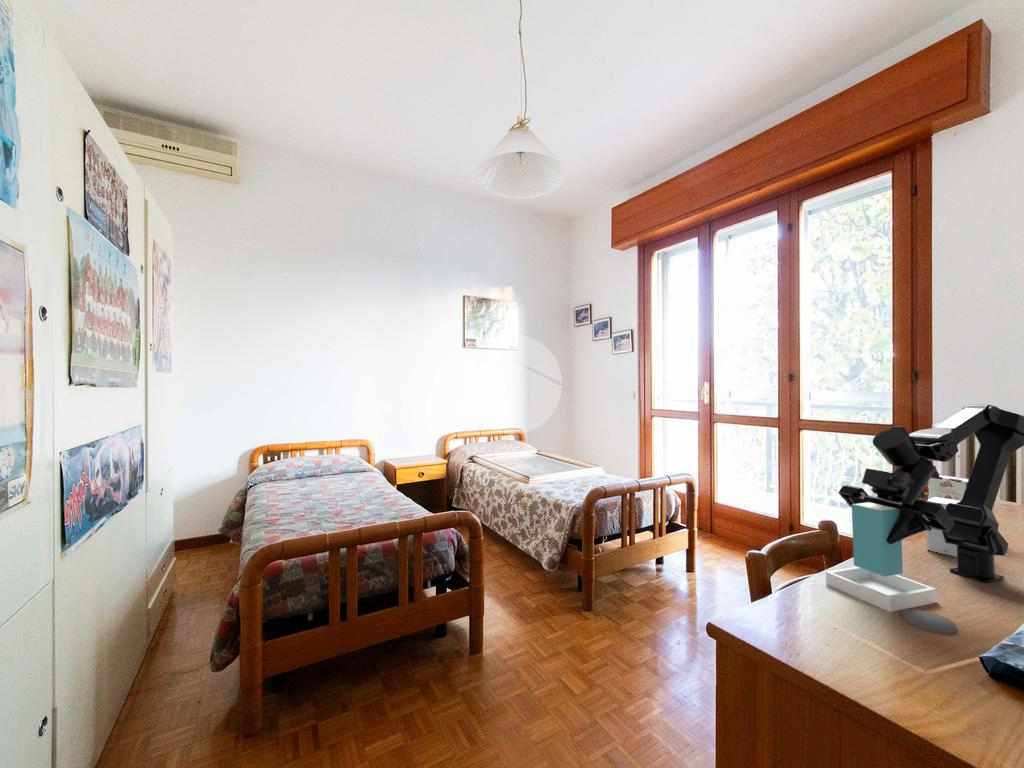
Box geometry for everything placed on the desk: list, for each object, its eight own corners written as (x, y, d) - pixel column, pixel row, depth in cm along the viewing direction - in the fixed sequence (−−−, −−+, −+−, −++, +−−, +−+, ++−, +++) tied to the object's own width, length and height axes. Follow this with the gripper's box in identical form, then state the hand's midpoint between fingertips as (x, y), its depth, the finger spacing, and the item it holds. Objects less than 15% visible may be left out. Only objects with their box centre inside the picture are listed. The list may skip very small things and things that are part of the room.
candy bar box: (986, 540, 119) (984, 481, 120) (970, 541, 119) (967, 481, 119) (942, 527, 130) (940, 473, 131) (927, 528, 130) (925, 474, 130)
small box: (960, 558, 107) (958, 505, 107) (926, 550, 113) (924, 500, 113) (968, 551, 112) (966, 500, 112) (934, 544, 117) (933, 496, 117)
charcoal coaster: (919, 612, 82) (919, 607, 82) (966, 631, 75) (966, 626, 75) (892, 618, 80) (892, 612, 80) (938, 638, 73) (938, 632, 73)
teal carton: (871, 562, 93) (869, 501, 93) (902, 573, 87) (900, 508, 87) (853, 565, 92) (851, 503, 92) (884, 576, 86) (882, 511, 86)
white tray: (869, 577, 97) (868, 564, 97) (936, 604, 85) (936, 588, 85) (826, 585, 94) (825, 571, 94) (890, 613, 82) (889, 598, 82)
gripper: (842, 450, 100) (807, 501, 97) (941, 462, 82) (901, 526, 79) (869, 481, 102) (835, 533, 99) (971, 499, 84) (933, 563, 81)
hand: (871, 537), depth 89 cm, fingers closed on teal carton, 6 cm apart
